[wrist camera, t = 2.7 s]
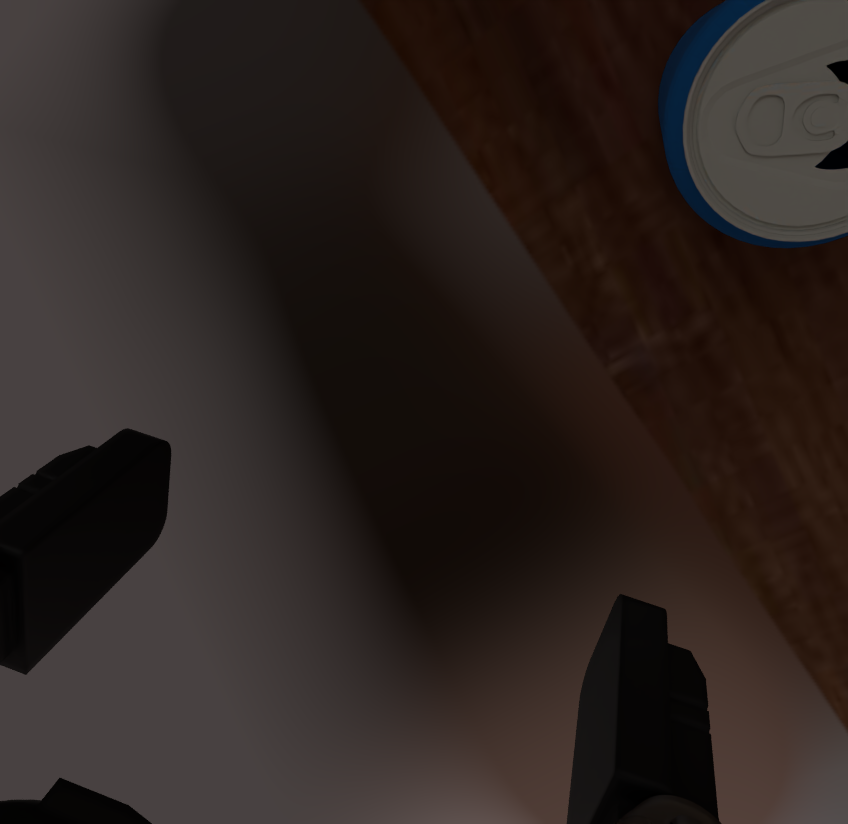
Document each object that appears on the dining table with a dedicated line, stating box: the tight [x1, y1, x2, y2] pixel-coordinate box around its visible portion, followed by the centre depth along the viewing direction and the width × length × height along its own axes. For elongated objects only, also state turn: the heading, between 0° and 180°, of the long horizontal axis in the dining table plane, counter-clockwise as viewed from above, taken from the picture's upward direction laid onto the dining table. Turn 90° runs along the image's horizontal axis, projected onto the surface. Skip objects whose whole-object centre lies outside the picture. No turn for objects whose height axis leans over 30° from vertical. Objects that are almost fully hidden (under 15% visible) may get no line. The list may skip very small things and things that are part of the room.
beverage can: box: [658, 0, 848, 248], centre depth 23 cm, size 6×6×12 cm
